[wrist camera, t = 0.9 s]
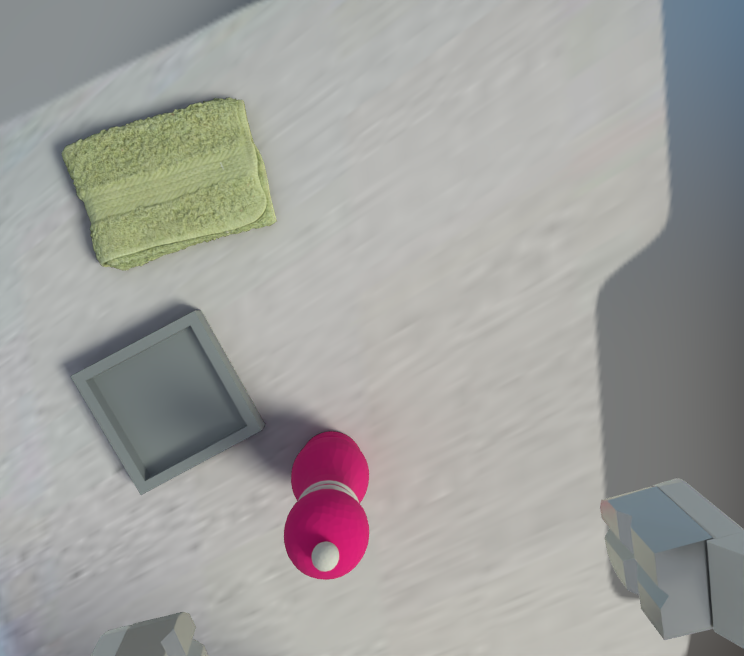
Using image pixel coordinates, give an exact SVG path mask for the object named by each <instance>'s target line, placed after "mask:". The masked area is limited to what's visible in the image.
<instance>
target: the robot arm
mask: <svg viewBox="0 0 744 656" xmlns="http://www.w3.org/2000/svg"><path fill="white" fill-rule="evenodd" d="M600 509H601V516H602V519H603V520H604V522H605V523H606V524H607V525H608V527H609V528H610V529H609V530H608V532H607V534H606V536H605V543H606V548H607V553H608V556H609V558H610V561H611V564H612V566H613V569H614V570H615V572H616V574H617V576H618V578H619V579H620V581H621V582H622V583H623V585H624V586H625V588H626V589H627V590H629V591H631V592H633V593H635V594H637V595H639V596H640V604H641V609H642V611H643V612H644V613H645V615H646V616H647V617H648V619H649V620H650V621H651V623H652V624H653V625H654V627H655V628H656V630H657V631H658V632H659V634H660V635H661V636H662V638H663V639H664V640H667V639H671V638H676V637H680V636H684V635H688V634H693V633H696V632H701V631H705V630H709V629H714V632H716V633H718V634H719V635H721V636H723V637H725V638H726V639H728V640H730V641H732V642H733V643H735V644H737V645H738V646H740V647H742V648H743V649H744V529H743V528H741V527H740V526H739V525H738V524H736V523H735V522H734V521H733V520H732V519H730V518H729V517H728V516H727V515H726V514H724V513H723V512H722V511H721V510H719V509H718V508H717V507H716V506H714V505H713V504H712V503H711V502H710V501H708V500H707V499H706V498H705V497H703V496H702V495H701V494H700V493H699V492H697V491H696V490H695V489H694V488H692V487H691V486H690V485H689V484H688V483H686V482H685V481H684V480H681V479H678V478H676V479H673V480H669V481H666V482H663V483H659V484H656V485H653V486H651V487H647V488H644V489H641V490H637V491H633V492H629V493H626V494H622V495H618V496H615V497H611V498H607V499H604V500H601V506H600ZM195 628H196V626H195V624H194V622H193V620H192V618H191V616H190V614H189V613H185V612H180V613H176V614H172V615H168V616H164V617H160V618H156V619H152V620H147V621H143V622H139V623H135V624H133V625H129V626H124V627H120V628H116V629H112V630H108V631H107V632H106V633H105V634H103V635H102V636H101V637H100V639H99V641H98V643H97V645H96V647H95V649H94V651H93V653H92V655H91V656H208V654H207V651H206V649H205V647H204V645H203V644H201V643H199V642H198V641H196V640H194V639H193V635H194V632H195Z"/></svg>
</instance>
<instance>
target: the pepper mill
mask: <svg viewBox="0 0 744 656" xmlns="http://www.w3.org/2000/svg"><path fill="white" fill-rule="evenodd" d="M368 482H369V469H368V465H367V461H366V459H365V457H364V455H363V454H362V452H361V451H360V449H359V447H358V446H357V444H356V443H355V442H354V441H353V440H352V438H350V437H349V436H347V435H345V434H343V433H339V432H332V431H329V432H323V433H321V434H318V435H316V436H314V437H313V438H312V439H311V440H309V441H308V442H307V444H306V445H305V447H304V448H303V449H302V450H301V451H300V453H299V454H298V455H297V457H296V459H295V461H294V464H293V467H292V475H291V483H292V489H293V493H294V495H295V497H296V499H297V501H298V502H296V504H295V505H294V506H293V508H292V509H291V510H290V513H289V515H288V517H287V520H286V523H285V528H284V543H285V548H286V551H287V554H288V556H289V558H290V560H291V561H292V563H293V564H294V565H295V566H296V568H297V569H298V570H300V571H301V572H302V573H304V574H305V575H308V576H310V577H313V578H317V579H325V580H327V579H335V578H338V577H341V576H343V575H345V574H347V573H349V572H350V571H351V570H352V569H354V568H355V567H356V565H357V564H358V563H359V562H360V560H361V559H362V557H363V555H364V553H365V551H366V548H367V545H368V540H369V525H368V520H367V516H366V514H365V512H364V509H363V508H362V507H361V505H360V502H361V501H362V499H363V497H364V496H365V494H366V491H367V487H368Z"/></svg>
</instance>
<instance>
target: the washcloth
mask: <svg viewBox="0 0 744 656" xmlns="http://www.w3.org/2000/svg"><path fill="white" fill-rule="evenodd" d="M62 157H63V160H64V162H65V164H66V167H67V168H68V172H69V174H70V177H71V178H72V179H73V180H74V183H73V184H74V185H75V187H76V191H77V196H78V197H79V198H80V199H81V200H82V201H83V202H84V204H85V208H86V211H87V214H88V216H89V218H90V222H91V224H92V225H91V227H90V231H91V235H90V236H91V237H92V242H93V249H94V251H95V252H96V258H97V260H98V261H99V262H100V264H101V266H103V267H114V268H116V269H121V270H129V268H132V267H135V266H142V265H144V264H145V263H148V261H153V260H155V259H157V258H159V257H161V256H163V255H166V254H170V253H174V252H176V251H179V250H180V249H182V250H183V249H185V248H186V247H188V246H192V245H196V244H197V243H202V242H203V241H205V242H209V241H211V240H212V239H213V240H215V239H216V237H217V238H218V239H219V237H222V236H225V237H226V236H228V235H230V234H238V233H241V232H242V231H249V230H250V229H251V228H255V229H257V228H260V227H264V226H270V225H272V224H273V223H275V222H276V221H277V220H276V216H275V213H274V209H273V204H272V201H271V196H270V191H269V185H268V179H267V175H266V171H265V166H264V162H263V160H262V157H261V155H260V153H259V150H258V149H257V147H256V146H255V144H254V142H253V138H252V135H251V132H250V128H249V123H248V120H247V116H246V111H245V104H244V101H243V100H236V99H232V98H230V97H229V98H226V99H222V98H221V99H219V98H218V99H217V98H214V99H213V100H212V101H207V102H205V101H203V104H202V103H200V102H199V103H194V104H191V105H189V106H188V107H187V108H185V109H178V110H176V109H175V110H174V111H173V112H172V113H164V114H163V115H161V114H160V115H156V116H154V117H152V118H149V117H148V118H147V119H145V120H141V119H140V120H137V121H134V122H133V123H130V124H126V126H122V127H111V128H109V129H108V131H106V130H105V129H104V130H101V131H100V133H98V134H93V135H92V136H90V137H87V138H86V139H84V140H82V139H80V140H78V141H77V142H75V143H72V144H70V145H68V146H66V147H65V148H64V150H63V152H62Z"/></svg>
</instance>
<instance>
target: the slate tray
mask: <svg viewBox="0 0 744 656" xmlns="http://www.w3.org/2000/svg"><path fill="white" fill-rule="evenodd" d="M71 378H72V380H73V382H74V383H75V385H76V387H77V388H78V390H79V392H80V393H81V395H82V397H83V398H84V400H85V402H86V403H87V405H88V407H89V409H90V410H91V412H92V414H93V415H94V417H95V419H96V420H97V422H98V424H99V425H100V427H101V429H102V430H103V432H104V434H105V436H106V437H107V439H108V441H109V442H110V444H111V446H112V447H113V449H114V451H115V452H116V454H117V456H118V457H119V459H120V461H121V462H122V464H123V466H124V468H125V469H126V471H127V473H128V474H129V476H130V478H131V479H132V481H133V483H134V484H135V486H136V488H137V489H138V491H139V493H140V495H142V494H144V493H146V492H148V491H150V490H152V489H154V488H155V487H157V486H159V485H161V484H163V483H165V482H167V481H168V480H170V479H172V478H174V477H176V476H178V475H180V474H181V473H183V472H185V471H187V470H189V469H191V468H193V467H195V466H196V465H198V464H200V463H202V462H204V461H206V460H208V459H209V458H211V457H213V456H215V455H217V454H219V453H221V452H222V451H224V450H226V449H228V448H230V447H232V446H234V445H235V444H237V443H239V442H241V441H243V440H245V439H247V438H248V437H250V436H252V435H254V434H256V433H258V432H260V431H262V429H263V427H264V426H265V423H264V422H263V420H262V418H261V416H260V414H259V413H258V411H257V409H256V407H255V406H254V404H253V402H252V400H251V398H250V397H249V395H248V393H247V391H246V390H245V388H244V386H243V384H242V382H241V381H240V379H239V377H238V375H237V374H236V372H235V370H234V368H233V366H232V365H231V363H230V361H229V359H228V358H227V356H226V354H225V352H224V350H223V349H222V347H221V345H220V343H219V342H218V340H217V338H216V336H215V334H214V333H213V331H212V329H211V327H210V325H209V324H208V322H207V320H206V318H205V317H204V315H203V313H202V311H201V310H197V311H193V312H191V313H189V314H187V315H186V316H184V317H182V318H180V319H178V320H176V321H174V322H172V323H170V324H169V325H167V326H165V327H163V328H161V329H159V330H157V331H155V332H153V333H152V334H150V335H148V336H146V337H144V338H142V339H140V340H138V341H136V342H135V343H133V344H131V345H129V346H127V347H125V348H123V349H121V350H119V351H118V352H116V353H114V354H112V355H110V356H108V357H106V358H104V359H102V360H101V361H99V362H97V363H95V364H93V365H91V366H89V367H87V368H85V369H84V370H82V371H80V372H78V373H76V374H74V375H72V376H71Z"/></svg>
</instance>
